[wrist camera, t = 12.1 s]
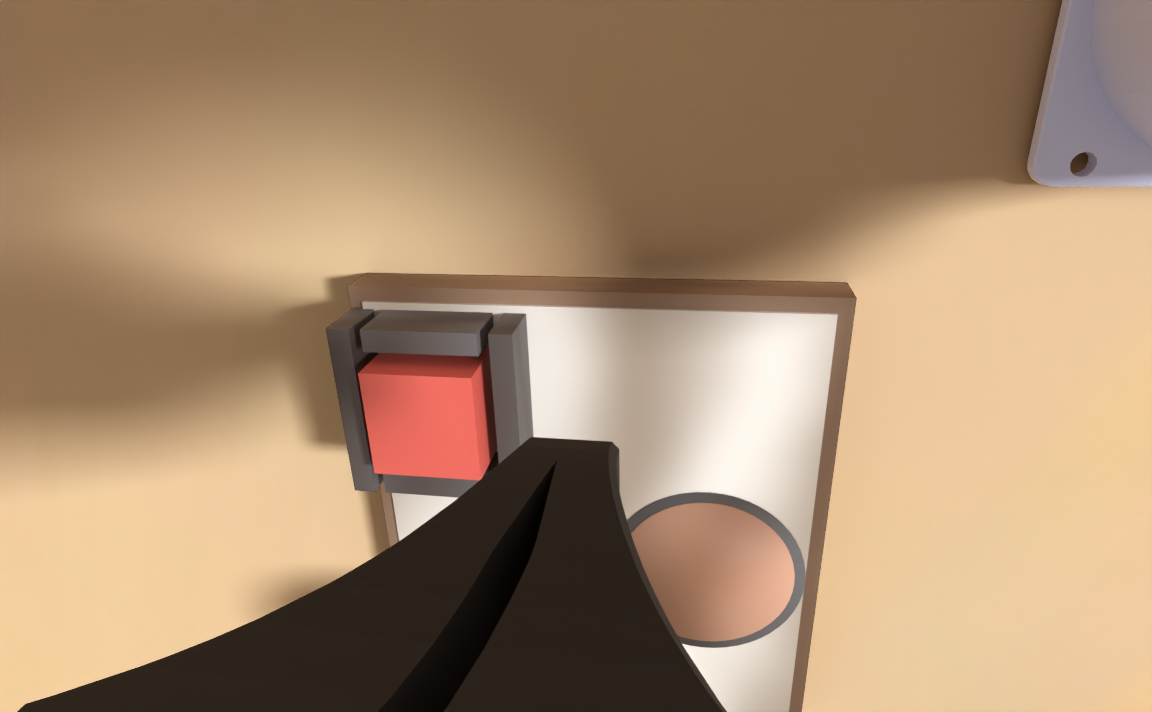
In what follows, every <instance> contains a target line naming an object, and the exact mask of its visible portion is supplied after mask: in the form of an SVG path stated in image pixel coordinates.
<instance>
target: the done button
mask: <svg viewBox="0 0 1152 712" xmlns="http://www.w3.org/2000/svg"><path fill="white" fill-rule="evenodd" d="M358 376H359V382H360V388H361V394H362V400H363V406H364V412H365V418H366V424H367V430H368V436H369V443H370V449H371V455H372V461H373V467H374V473H377V474H392V475H406V476H421V477H436V478H451V479H466V480H481V479H482V477H483V475H484V473H485V472H486V470H487V468H488V466H489V464H490V462H491V460H492V458H493V456H494V454H495V452H496V450H497V437H496V425H495V413H494V401H493V389H492V377H491V365H490V353H489V349H483V350H482V352H481V353H480V354H479V356H453V355H427V354H401V353H379V354H378V355H377V356H376V357H375V358H374V359H373V360H371V361H370V362H369V363H368V364H367V365H366V366H365V367H364V368H363V369H362V370H361V371H360V372H359V373H358Z"/></svg>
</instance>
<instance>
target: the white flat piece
mask: <svg viewBox="0 0 1152 712" xmlns="http://www.w3.org/2000/svg"><path fill="white" fill-rule="evenodd" d="M347 288H348V294H349V300H350V306H351V310H350V311H349V312H347V313H346V314H345V315H343V316H342V317H341V318H339V319H338V320H337V321H335V322H334V323H333V324H331V325H330V326H329V327H327V328H326V332H327V338H328V343H329V349H330V354H331V360H332V365H333V371H334V376H335V382H336V388H337V393H338V399H339V404H340V410H341V415H342V421H343V426H344V432H345V437H346V443H347V449H348V454H349V460H350V465H351V471H352V476H353V482H354V487H355V490H359V491H373V492H375V491H376V490H377V489H378V487H379V486H380V490H381V496H382V502H383V508H384V514H385V520H386V526H387V533H388V539H389V545H390V547H391V546H393V545H394V544H396V543H397V542H399V541H400V540H402V539H403V538H405V537H406V536H408V535H409V534H410V533H412V532H413V531H414V530H416V529H417V528H418V527H420V526H421V525H423V524H424V523H425V522H427V521H428V520H429V519H431V518H432V517H433V516H435V515H436V514H438V513H439V512H440V511H442V510H443V509H444V508H446V507H447V506H448V505H450V504H451V503H453V502H454V501H455V500H456V499H458V498H459V497H460V496H461V495H463V494H464V493H465V492H466V491H467V490H469V489H470V488H471V487H472V486H473V485H475V484H476V483H477V482H478V481H480V480H466V479H451V478H436V477H421V476H406V475H392V474H377V473H374V467H373V461H372V455H371V449H370V443H369V436H368V430H367V424H366V418H365V412H364V406H363V400H362V394H361V388H360V382H359V376H358V373H359V372H360V371H361V370H362V369H363V368H364V367H365V366H366V365H367V364H368V363H369V362H370V361H371V360H373V359H374V358H375V357H376V356H377V355H378V354H379V353H401V354H427V355H453V356H479V354H480V353H481V352H482V350H483V349H489V353H490V365H491V377H492V389H493V401H494V413H495V425H496V437H497V450H496V452H495V454H494V456H493V458H492V460H491V462H490V464H489V466H488V468H487V470H486V472H485V473H484V475H483V477H484V476H486V475H487V474H488V473H489V472H490V471H491V470H493V469H494V468H495V467H496V466H497V465H498V464H500V463H501V462H502V461H503V460H504V459H505V458H507V457H508V456H509V455H510V454H511V453H512V452H514V451H515V450H516V449H517V448H518V447H519V446H521V445H522V444H523V443H524V442H525V441H527V440H528V439H529V438H530V437H540V438H557V439H575V440H592V441H610V442H613V443H614V444H615V445H616V446H617V447H618V448H619V472H620V496H621V501H622V505H623V508H624V512H625V515H626V519H627V523H628V526H629V530H630V532H631V535H632V538H633V541H634V544H635V547H636V549H637V552H638V555H639V557H640V560H641V562H642V565H643V568H644V570H645V572H646V575H647V577H648V579H649V581H650V584H651V586H652V588H653V590H654V592H655V594H656V596H657V598H658V600H659V602H660V604H661V606H662V608H663V610H664V612H665V614H666V616H667V618H668V620H669V622H670V623H671V625H672V627H673V629H674V631H675V632H676V634H677V636H678V638H679V640H680V641H681V643H682V645H683V646H684V648H685V650H686V651H687V653H688V654H689V656H690V657H691V659H692V660H693V662H694V663H695V665H696V666H697V668H698V669H699V671H700V672H701V674H702V676H703V677H704V679H705V680H706V682H707V683H708V685H709V686H710V688H711V689H712V691H713V692H714V694H715V695H716V697H717V698H718V700H719V701H720V703H721V704H722V706H723V707H724V708H725V709H726V711H727V712H802V704H803V697H804V689H805V682H806V674H807V667H808V659H809V652H810V644H811V637H812V629H813V622H814V614H815V606H816V599H817V591H818V584H819V576H820V569H821V561H822V554H823V546H824V539H825V531H826V524H827V516H828V509H829V501H830V494H831V486H832V479H833V471H834V464H835V456H836V449H837V441H838V434H839V426H840V419H841V411H842V404H843V396H844V388H845V381H846V373H847V366H848V358H849V351H850V343H851V336H852V328H853V321H854V313H855V306H856V296H855V295H854V293H853V291H852V290H851V288H850V286H849V285H848V283H834V282H784V281H734V280H685V279H635V278H585V277H535V276H485V275H435V274H386V273H366V274H364V275H363V276H361V277H360V278H358V279H357V280H356V281H354V282H353V283H351V284H350V285H348V286H347ZM483 477H482V478H483Z"/></svg>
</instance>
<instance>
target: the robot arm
mask: <svg viewBox="0 0 1152 712" xmlns="http://www.w3.org/2000/svg"><path fill="white" fill-rule="evenodd" d="M1083 152H1086V154H1087V155H1088V163H1087V165H1086V167H1085V168H1084V169H1083V170H1081V171H1080V172H1078V173H1074V174H1073V173H1072V172H1071V171H1070V164H1071V162H1072V160H1073V158H1074V157H1076V156H1077V155H1078V154H1079V153H1083ZM1027 171H1028V173H1029V175H1030V177H1031V179H1033V180H1034V181H1036V182H1037V183H1039V184H1041V185H1044V186H1050V187H1152V0H1062V5H1061V9H1060V14H1059V18H1058V23H1057V28H1056V32H1055V37H1054V42H1053V46H1052V51H1051V55H1050V60H1049V65H1048V69H1047V74H1046V79H1045V83H1044V88H1043V93H1042V97H1041V102H1040V106H1039V111H1038V116H1037V120H1036V125H1035V130H1034V134H1033V139H1032V144H1031V148H1030V153H1029V157H1028V162H1027ZM18 712H727V711H726V709H725V708H724V707H723V706H722V704H721V703H720V701H719V700H718V698H717V697H716V695H715V694H714V692H713V691H712V689H711V688H710V686H709V685H708V683H707V682H706V680H705V679H704V677H703V676H702V674H701V672H700V671H699V669H698V668H697V666H696V665H695V663H694V662H693V660H692V659H691V657H690V656H689V654H688V653H687V651H686V650H685V648H684V646H683V645H682V643H681V641H680V640H679V638H678V636H677V634H676V632H675V631H674V629H673V627H672V625H671V623H670V622H669V620H668V618H667V616H666V614H665V612H664V610H663V608H662V606H661V604H660V602H659V600H658V598H657V596H656V594H655V592H654V590H653V588H652V586H651V584H650V581H649V579H648V577H647V575H646V572H645V570H644V568H643V565H642V562H641V560H640V557H639V555H638V552H637V549H636V547H635V544H634V541H633V538H632V535H631V532H630V530H629V526H628V523H627V519H626V515H625V512H624V508H623V505H622V501H621V496H620V472H619V448H618V447H617V446H616V445H615V444H614V443H613V442H610V441H592V440H575V439H557V438H540V437H530V438H529V439H528V440H527V441H525V442H524V443H523V444H522V445H521V446H519V447H518V448H517V449H516V450H515V451H514V452H512V453H511V454H510V455H509V456H508V457H507V458H505V459H504V460H503V461H502V462H501V463H500V464H498V465H497V466H496V467H495V468H494V469H493V470H491V471H490V472H489V473H488V474H487V475H486V476H484V477H483V478H482V479H481V480H480V481H478V482H477V483H476V484H475V485H473V486H472V487H471V488H470V489H469V490H467V491H466V492H465V493H464V494H463V495H461V496H460V497H459V498H458V499H456V500H455V501H454V502H453V503H451V504H450V505H448V506H447V507H446V508H444V509H443V510H442V511H440V512H439V513H438V514H436V515H435V516H433V517H432V518H431V519H429V520H428V521H427V522H425V523H424V524H423V525H421V526H420V527H418V528H417V529H416V530H414V531H413V532H412V533H410V534H409V535H408V536H406V537H405V538H403V539H402V540H400V541H399V542H397V543H396V544H394V545H393V546H391V547H390V548H388V549H387V550H385V551H383V552H382V553H380V554H379V555H377V556H376V557H374V558H372V559H371V560H369V561H367V562H366V563H364V564H362V565H360V566H359V567H357V568H355V569H354V570H352V571H350V572H349V573H347V574H345V575H344V576H342V577H340V578H338V579H336V580H335V581H333V582H331V583H329V584H327V585H325V586H323V587H321V588H319V589H317V590H315V591H313V592H311V593H309V594H307V595H305V596H303V597H301V598H299V599H297V600H295V601H293V602H291V603H289V604H287V605H285V606H283V607H281V608H279V609H277V610H275V611H273V612H271V613H269V614H267V615H265V616H263V617H261V618H259V619H257V620H255V621H252V622H250V623H248V624H246V625H243V626H241V627H239V628H236V629H234V630H232V631H229V632H227V633H225V634H222V635H220V636H218V637H216V638H213V639H211V640H208V641H206V642H203V643H201V644H198V645H196V646H193V647H191V648H188V649H186V650H183V651H180V652H178V653H175V654H173V655H170V656H168V657H165V658H162V659H160V660H157V661H154V662H151V663H149V664H146V665H143V666H141V667H138V668H135V669H132V670H129V671H126V672H123V673H120V674H117V675H114V676H111V677H108V678H105V679H102V680H99V681H96V682H93V683H90V684H87V685H84V686H81V687H78V688H75V689H72V690H69V691H66V692H63V693H60V694H57V695H54V696H50V697H47V698H44V699H41V700H37V701H34V702H31V703H27V704H25V705H24V706H23V707H22V708H21V709H20V710H19V711H18Z"/></svg>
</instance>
